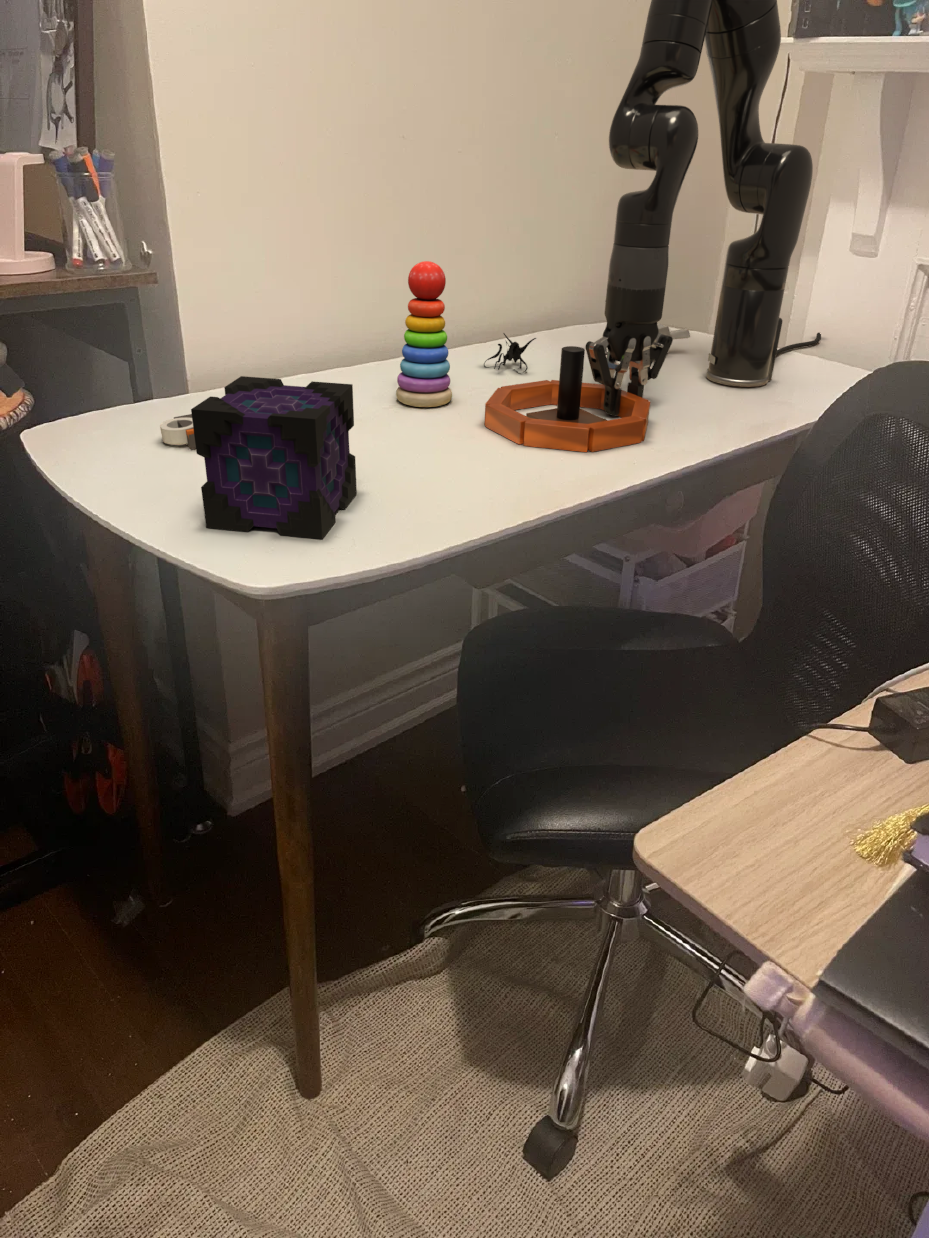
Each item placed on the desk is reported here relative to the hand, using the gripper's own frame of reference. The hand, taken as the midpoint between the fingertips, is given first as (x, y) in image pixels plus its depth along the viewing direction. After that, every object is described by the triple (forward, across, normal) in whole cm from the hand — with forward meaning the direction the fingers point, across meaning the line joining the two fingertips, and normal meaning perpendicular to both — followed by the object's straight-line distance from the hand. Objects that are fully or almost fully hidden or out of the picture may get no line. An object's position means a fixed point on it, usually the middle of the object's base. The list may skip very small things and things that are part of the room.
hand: (622, 411), depth 125 cm
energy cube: (+1, -54, -10) cm, 54 cm away
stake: (0, -10, 0) cm, 10 cm away
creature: (+1, 0, +28) cm, 28 cm away
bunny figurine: (+1, +26, +25) cm, 36 cm away
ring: (0, -10, 0) cm, 10 cm away
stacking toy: (+1, -22, +18) cm, 28 cm away
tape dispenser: (+1, -52, +16) cm, 54 cm away
